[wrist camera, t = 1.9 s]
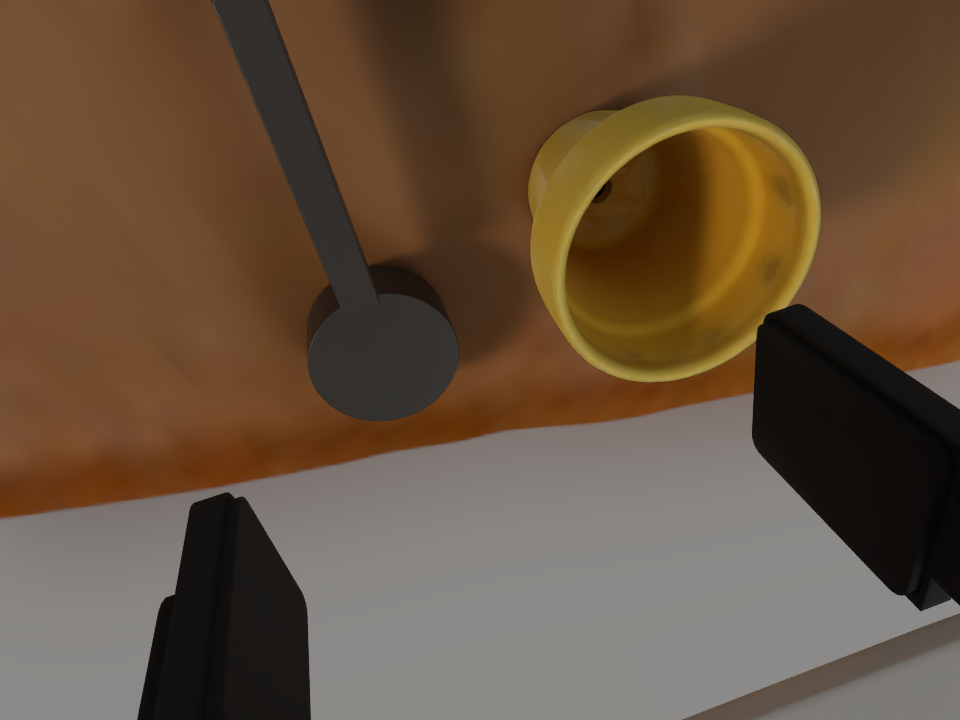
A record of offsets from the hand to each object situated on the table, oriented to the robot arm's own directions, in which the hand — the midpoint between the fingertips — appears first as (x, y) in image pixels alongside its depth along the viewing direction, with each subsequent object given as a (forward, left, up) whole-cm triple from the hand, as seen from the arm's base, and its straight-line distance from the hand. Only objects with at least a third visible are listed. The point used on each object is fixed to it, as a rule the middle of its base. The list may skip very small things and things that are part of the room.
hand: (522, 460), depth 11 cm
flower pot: (-9, +4, -21) cm, 23 cm away
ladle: (+3, +1, -20) cm, 21 cm away
